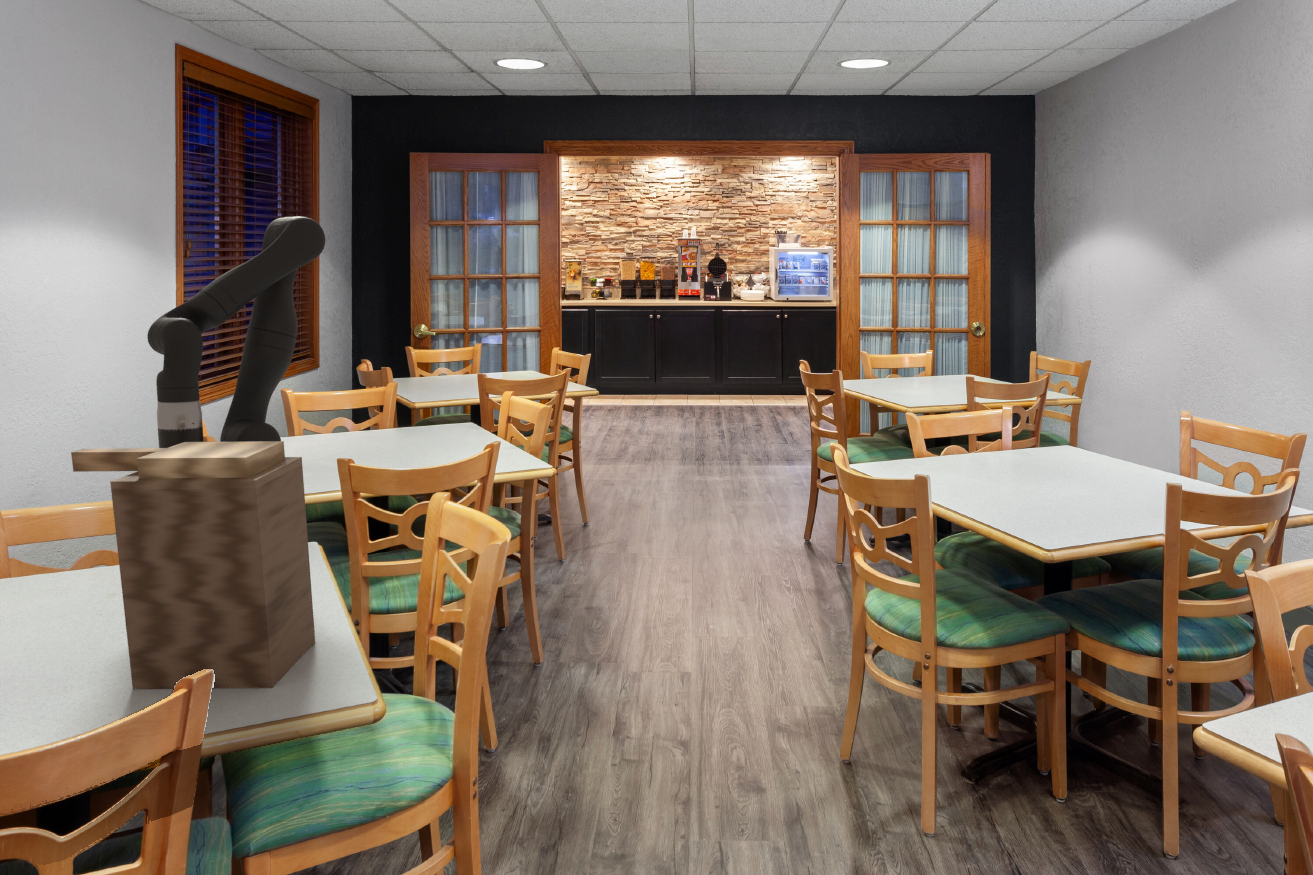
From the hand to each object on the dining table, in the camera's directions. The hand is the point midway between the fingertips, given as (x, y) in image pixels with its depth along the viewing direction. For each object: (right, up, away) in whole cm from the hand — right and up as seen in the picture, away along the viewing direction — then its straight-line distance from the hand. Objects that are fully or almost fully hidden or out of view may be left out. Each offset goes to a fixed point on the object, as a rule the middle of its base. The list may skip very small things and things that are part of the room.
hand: (185, 510), depth 175 cm
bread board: (+15, +9, -32) cm, 37 cm away
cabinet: (+21, -23, -27) cm, 41 cm away
